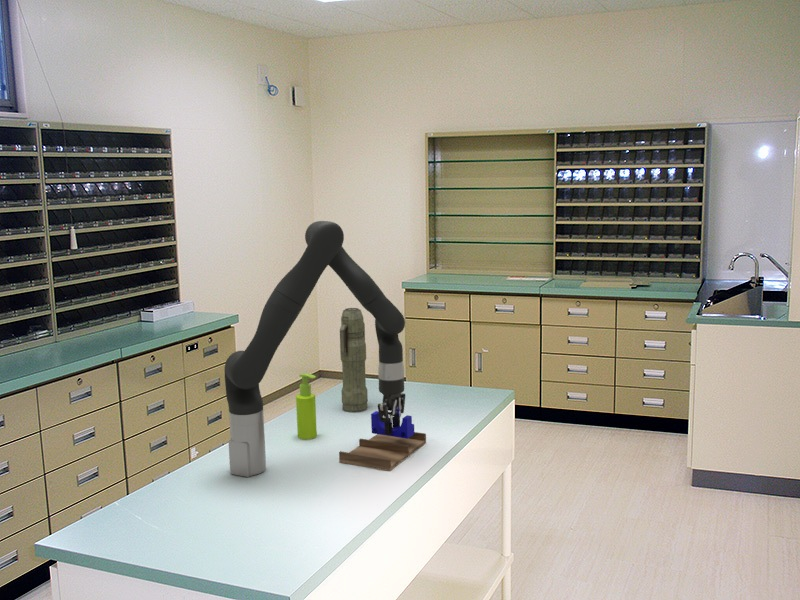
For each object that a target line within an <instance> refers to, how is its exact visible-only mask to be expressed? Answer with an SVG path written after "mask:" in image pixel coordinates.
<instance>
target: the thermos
mask: <svg viewBox="0 0 800 600" xmlns="http://www.w3.org/2000/svg"><path fill="white" fill-rule="evenodd" d="M340 321H341V322H340V324H341V325H340V327H339V342H340V343H339V349H340V350H339V351H340V360H341V367H342V368H341V369H342V387H341V391H340V392H341V403H342V411H344V412H347V413H361V412H365V411H366V410H367V409H368V400H369V398H368V397H369V396H368V393H369V392H368V388H367V386H366V385H367V381H366V360H367V344H366V330H365V329H366V328H365V322H364V315H363V312H362V310H361V309H359V308H358V307H348V308H345V309H343V310H342V313H341V318H340Z"/></svg>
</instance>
